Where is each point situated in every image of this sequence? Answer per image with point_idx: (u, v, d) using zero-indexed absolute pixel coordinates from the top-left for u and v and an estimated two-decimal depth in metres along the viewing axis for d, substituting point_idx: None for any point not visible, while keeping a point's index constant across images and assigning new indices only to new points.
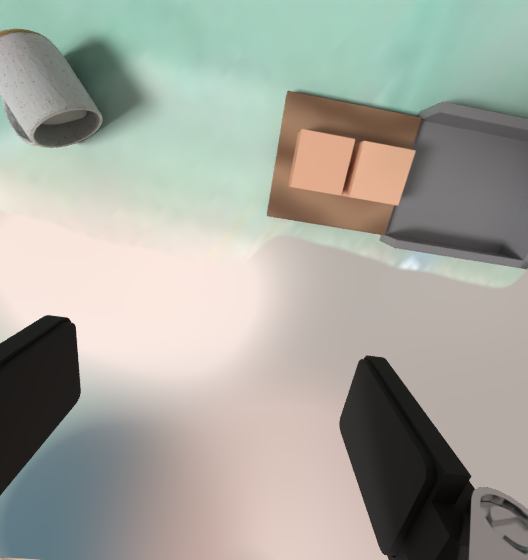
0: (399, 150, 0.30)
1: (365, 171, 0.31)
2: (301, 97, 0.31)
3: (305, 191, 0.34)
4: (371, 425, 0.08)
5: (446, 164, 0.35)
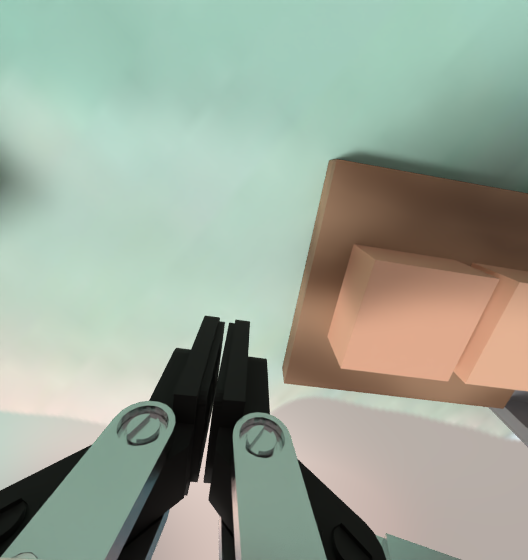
0: None
1: (509, 339, 0.14)
2: (367, 172, 0.14)
3: None
4: None
5: None
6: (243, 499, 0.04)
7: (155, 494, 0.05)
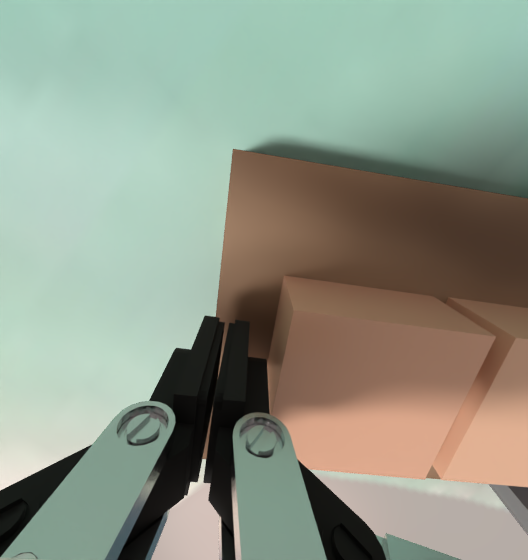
0: None
1: (504, 419, 0.09)
2: (281, 169, 0.09)
3: None
4: None
5: None
6: (243, 499, 0.04)
7: (155, 494, 0.05)
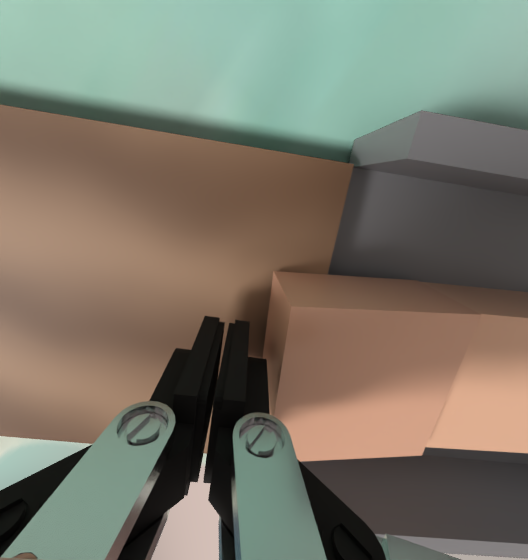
0: None
1: (462, 387, 0.10)
2: None
3: (30, 374, 0.12)
4: None
5: None
6: (243, 499, 0.04)
7: (155, 494, 0.05)
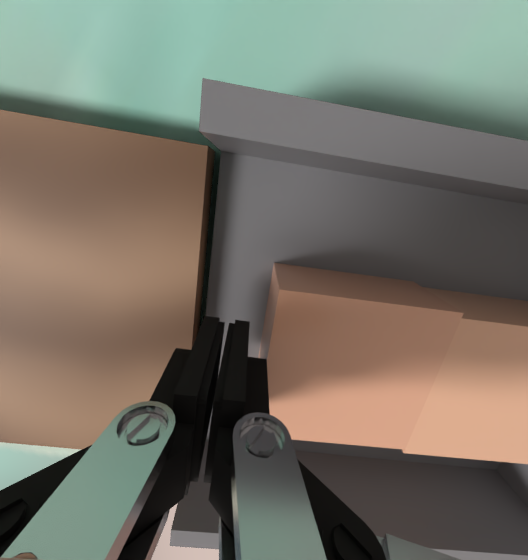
0: None
1: (457, 394, 0.10)
2: None
3: None
4: None
5: None
6: (243, 499, 0.04)
7: (155, 494, 0.05)
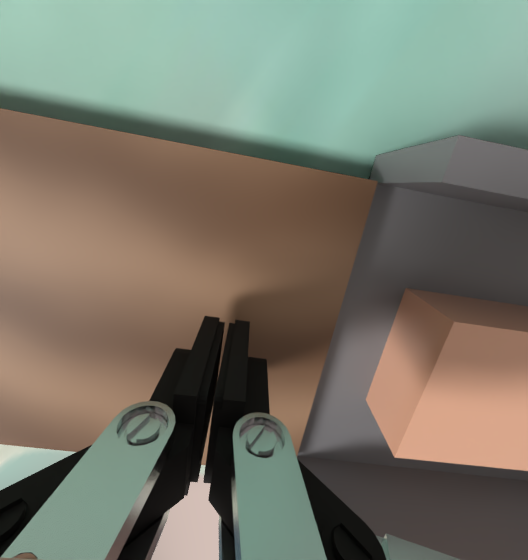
0: None
1: None
2: None
3: (39, 383, 0.11)
4: None
5: None
6: (243, 499, 0.04)
7: (155, 494, 0.05)
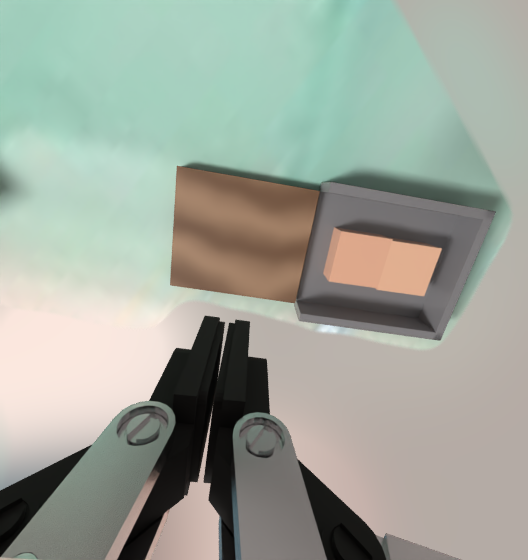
0: (425, 248, 0.31)
1: (392, 267, 0.32)
2: (191, 172, 0.30)
3: (207, 261, 0.33)
4: None
5: None
6: (243, 499, 0.04)
7: (155, 494, 0.05)
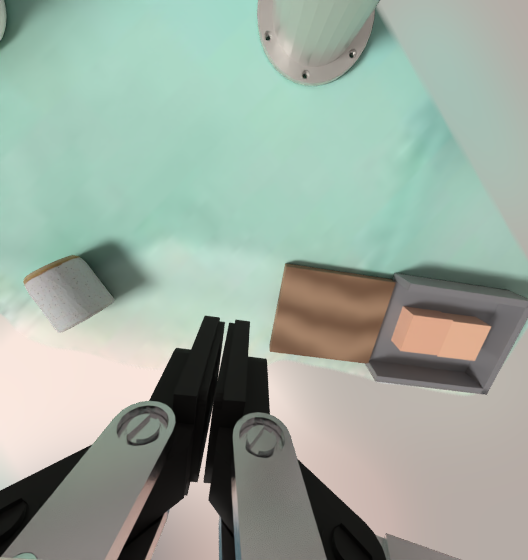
0: (478, 326, 0.39)
1: (451, 340, 0.40)
2: (297, 270, 0.38)
3: (301, 334, 0.41)
4: None
5: None
6: (243, 499, 0.04)
7: (155, 494, 0.05)
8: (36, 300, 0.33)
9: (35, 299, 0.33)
